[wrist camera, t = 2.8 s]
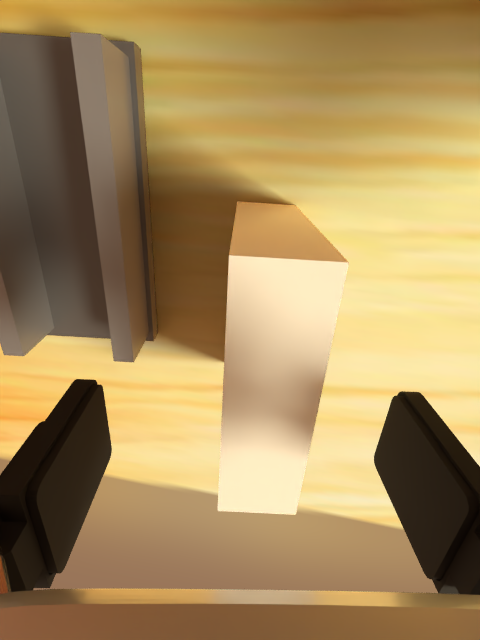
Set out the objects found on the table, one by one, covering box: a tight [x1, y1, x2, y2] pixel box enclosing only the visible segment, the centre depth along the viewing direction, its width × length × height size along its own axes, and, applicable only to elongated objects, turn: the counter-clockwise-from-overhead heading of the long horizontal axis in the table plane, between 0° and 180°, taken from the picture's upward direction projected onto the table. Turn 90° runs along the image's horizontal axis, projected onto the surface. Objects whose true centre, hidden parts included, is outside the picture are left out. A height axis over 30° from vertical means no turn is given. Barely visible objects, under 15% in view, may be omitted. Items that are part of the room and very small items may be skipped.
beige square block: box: [218, 201, 349, 515], centre depth 15 cm, size 3×10×10 cm, turn 177°
